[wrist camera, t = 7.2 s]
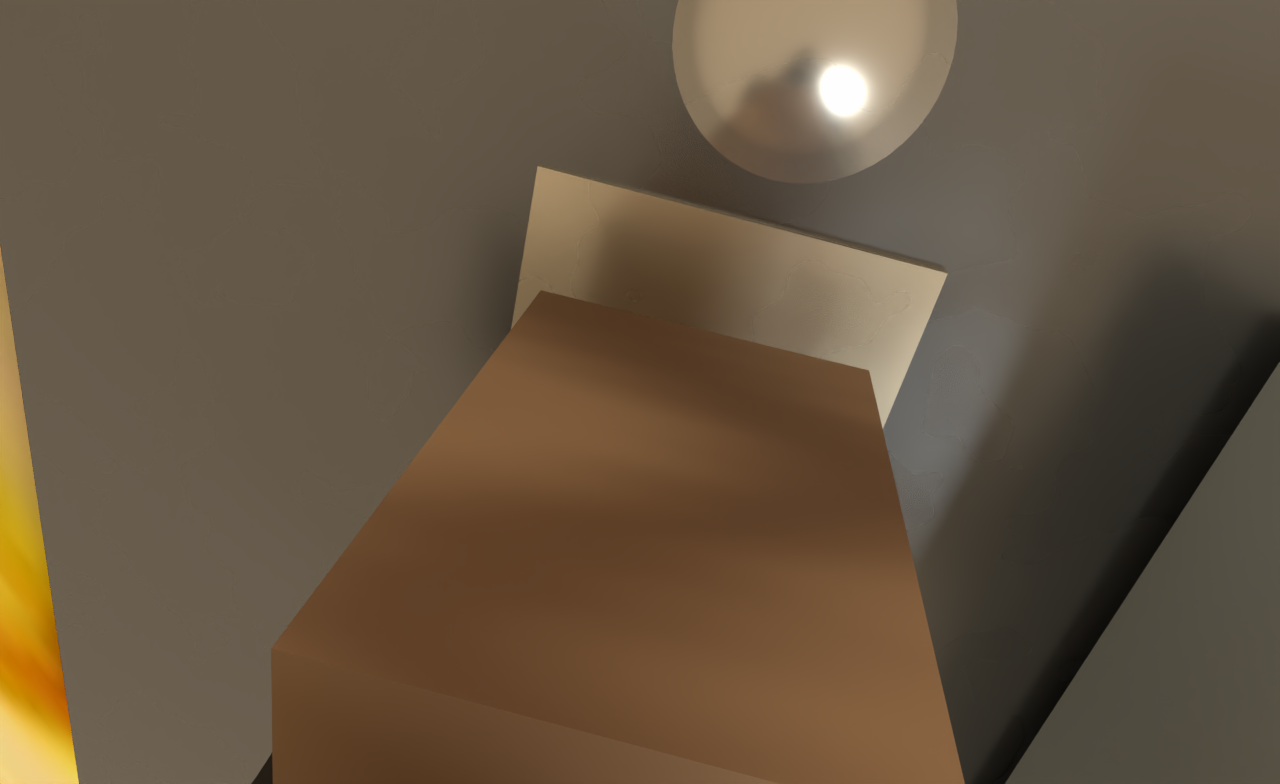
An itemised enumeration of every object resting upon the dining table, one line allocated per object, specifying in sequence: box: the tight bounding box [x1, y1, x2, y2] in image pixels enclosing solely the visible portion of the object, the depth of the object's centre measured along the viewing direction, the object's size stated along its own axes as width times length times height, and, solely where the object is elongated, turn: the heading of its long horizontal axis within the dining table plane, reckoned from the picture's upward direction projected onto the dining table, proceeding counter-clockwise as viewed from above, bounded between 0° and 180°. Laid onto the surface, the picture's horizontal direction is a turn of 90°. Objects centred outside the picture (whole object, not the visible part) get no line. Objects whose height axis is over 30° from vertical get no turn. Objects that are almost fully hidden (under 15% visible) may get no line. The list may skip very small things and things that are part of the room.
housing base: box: [0, 0, 1280, 784], centre depth 13 cm, size 22×22×6 cm
